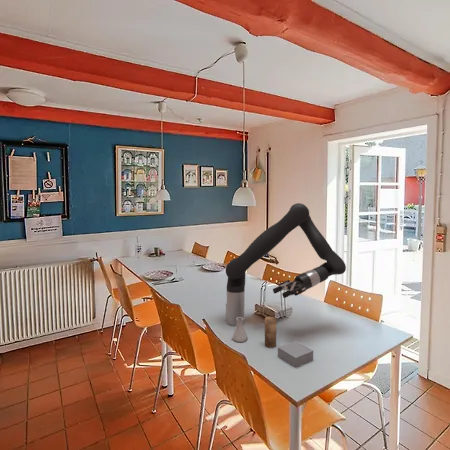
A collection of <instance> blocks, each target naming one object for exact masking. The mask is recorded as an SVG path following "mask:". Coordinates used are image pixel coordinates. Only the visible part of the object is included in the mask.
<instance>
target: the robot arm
mask: <svg viewBox="0 0 450 450" xmlns="http://www.w3.org/2000/svg"><path fill="white" fill-rule="evenodd" d="M297 227H299V228H301V229H300V230H302V232H303V233H304V234H305V236H306V238H307V239H308V241H309V243H310V245H311V246H312V248H313V250H314V251H315V253H316V254H317V256H318V257H319V258H320V260H324V261H326V262H323V263H322V264H320V265H319V266H317V267H314V268H312V269H310V270H306V271H304V272H302V273H299V274H297V275H296V276H295V277H294V280H290V279H287V280H285V281H283V282H282V281H281V282H280V283H278V286H277V287H274V288H272V291H273V294H277V293H280V292H281V291H284V292H282V293H281V295H282V298H283V299H286V298H288V297H289V296H295V297H297V296H298V295H301V294H302V293H305V292H306V291H307V290H310V289H311V288H314V287H315V286H317V285H319V284H321V283H322V282H325V281H326V280H328V279H329V277H331V276H334V275H342V274H344V273H345V272H346V270H347V267H346V263H345V261H344V260H343V258H342V257H340V255H339V254H338V253H336V252H335V251H334V250H333V249H332V246H331V245H330V244H329V243H328V240H326V238H325V237H324V235H323V234H322V233H321V231H320V230H319V229H318V228H317V226H316V224H315V223H314V222H313V219H312V218H311V215H310V210H309V208H308V207H307V206H306V205H305V204H304V203H299V202H297V203H296V202H295V203H294V204H292V205H291V206H290V208H289V210H288V212H286V214H285V215H284V216H283V217H281V219H280V220H278V222H276V223H274V224H272V225H270V227H268V228H266V229H265V230H264V231H263V232H261V233H260V234H259V235H258V236H257V237H256V238H255V239H254V240H253V241H252V242H251V243H250V244H249V245H248V247H247V248H246V249H245V250H244V251H243V253H241V254H240V255H239V256H238V257H236V258H233V259H231V260H229V262H228V263H227V264H226V266H225V275H226V277H227V282H226V303H225V321H226V324H227V325H229V326H231V327H232V326H233V327H236V325H237V320H236V318H237V317H242V318H243V325H244V324H245V300H246V299H245V295H246V294H245V287H246V272H247V271H248V270H249V269H250V268H251V267H252V266H253V265H254V264H255V263H256V262H259V260H260V259H262V258H263V257H265V256H266V255H267V254H269V253H270V252H272V250H273V249H275V248H276V247H277V246H278V244H280V243H281V242H282V240H283V239H285V237H286V236H287V235H289V234H290V233H291V232H292V231H293V230H294V229H296V228H297Z"/></svg>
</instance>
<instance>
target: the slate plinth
mask: <svg viewBox="0 0 450 450" xmlns="http://www.w3.org/2000/svg"><path fill="white" fill-rule="evenodd" d="M277 357H278V358H279V359H281V360H283V361H284V362H286V363H287V364H289V365H290V366H292V367H293V368H296V369H297V368H299V367H300V366H303V365H305V364H308V363H310V362H312V361H314V350H313V349H311V348H309V347H308V346H306V345H304V344H302V343H300V342H298V341H296V340H294V341H291V342H288V343H285V344H283V345H280V346H278V347H277Z"/></svg>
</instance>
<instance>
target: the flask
mask: <svg viewBox="0 0 450 450" xmlns="http://www.w3.org/2000/svg"><path fill="white" fill-rule="evenodd" d="M236 320H237V325H236V326H235V328H234V332H233V335H232V337H231V340H232V341H233V342H235V343H245V342H247V341H248V338H249V337H248V335H247V332H246V329H245V327H244V324H243V318H242V317H237V318H236Z"/></svg>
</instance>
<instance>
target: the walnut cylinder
mask: <svg viewBox="0 0 450 450" xmlns="http://www.w3.org/2000/svg"><path fill="white" fill-rule="evenodd" d="M264 347H266V348H269V349H272V348H275V347H277V318H276V317H274V316H266V317H265V318H264Z"/></svg>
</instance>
